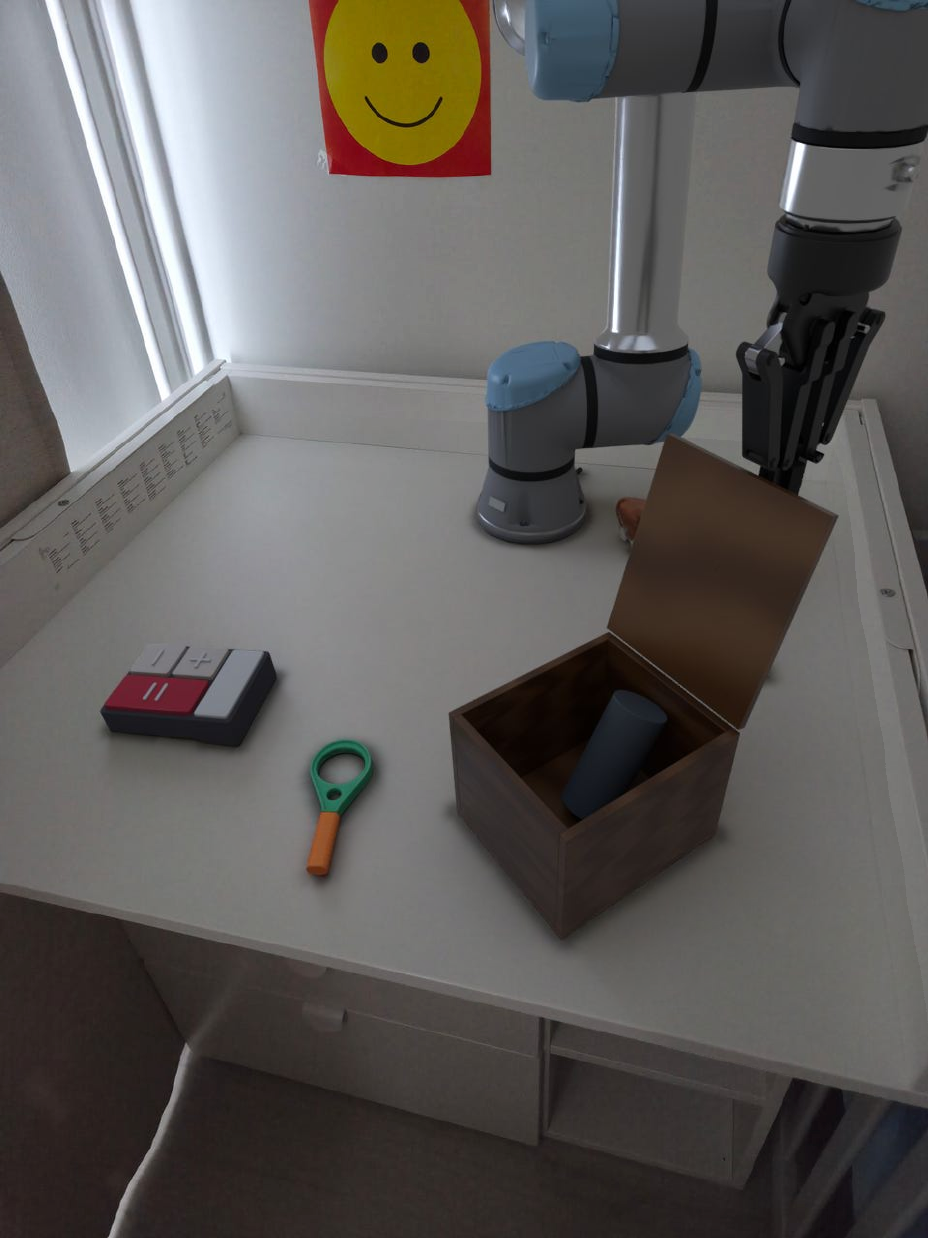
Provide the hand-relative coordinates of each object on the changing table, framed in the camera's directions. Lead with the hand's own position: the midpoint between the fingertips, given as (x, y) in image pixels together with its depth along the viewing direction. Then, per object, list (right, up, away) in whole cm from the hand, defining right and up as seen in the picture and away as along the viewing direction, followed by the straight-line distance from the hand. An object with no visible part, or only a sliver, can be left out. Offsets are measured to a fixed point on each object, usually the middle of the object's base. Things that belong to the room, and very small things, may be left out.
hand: (768, 531), depth 66 cm
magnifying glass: (-37, -25, +11) cm, 46 cm away
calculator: (-54, -16, +23) cm, 61 cm away
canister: (-14, -24, +7) cm, 29 cm away
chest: (-14, -26, +8) cm, 30 cm away
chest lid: (-6, -4, -2) cm, 7 cm away
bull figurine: (+1, +1, +41) cm, 41 cm away
